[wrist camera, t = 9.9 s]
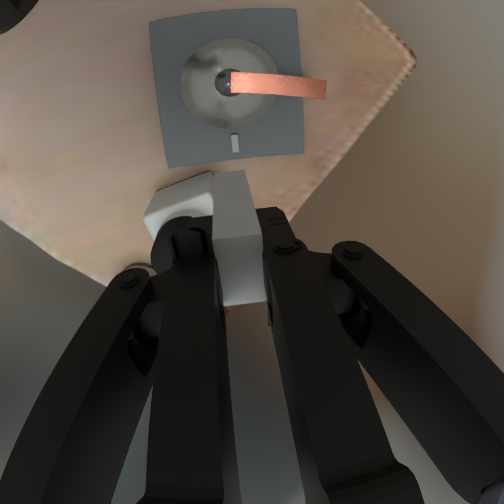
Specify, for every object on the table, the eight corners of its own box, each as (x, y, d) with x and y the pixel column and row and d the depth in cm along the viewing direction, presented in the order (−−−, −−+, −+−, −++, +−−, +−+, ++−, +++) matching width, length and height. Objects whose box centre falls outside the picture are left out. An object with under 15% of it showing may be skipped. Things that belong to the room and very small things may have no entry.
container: (178, 240, 39) (166, 306, 28) (154, 191, 35) (127, 245, 24) (232, 222, 38) (238, 284, 27) (211, 169, 34) (207, 215, 23)
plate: (152, 24, 23) (147, 21, 21) (292, 11, 24) (297, 7, 22) (170, 164, 33) (167, 170, 31) (300, 150, 34) (305, 155, 32)
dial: (182, 127, 29) (176, 134, 25) (184, 41, 24) (177, 34, 20) (306, 130, 31) (320, 138, 27) (313, 48, 25) (329, 43, 21)
